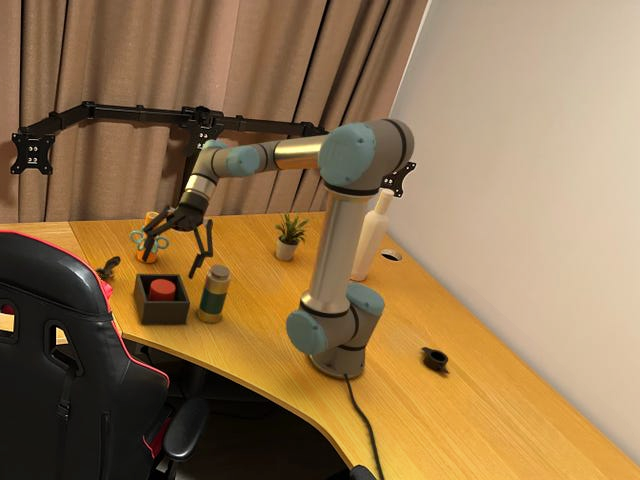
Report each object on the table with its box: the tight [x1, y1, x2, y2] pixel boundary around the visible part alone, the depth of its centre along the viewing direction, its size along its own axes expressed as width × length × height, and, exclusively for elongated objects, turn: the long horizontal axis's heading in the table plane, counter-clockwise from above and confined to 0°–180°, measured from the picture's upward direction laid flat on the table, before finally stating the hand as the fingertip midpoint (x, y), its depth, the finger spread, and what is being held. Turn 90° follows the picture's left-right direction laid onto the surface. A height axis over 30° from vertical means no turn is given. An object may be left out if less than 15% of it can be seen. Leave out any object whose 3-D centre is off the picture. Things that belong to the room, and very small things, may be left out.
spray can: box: [197, 264, 232, 324], centre depth 175 cm, size 7×7×16 cm
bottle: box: [350, 188, 395, 282], centre depth 199 cm, size 8×8×30 cm
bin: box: [133, 273, 191, 325], centre depth 176 cm, size 14×13×7 cm
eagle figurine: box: [94, 255, 122, 282], centre depth 184 cm, size 8×7×9 cm
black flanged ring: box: [420, 346, 451, 375], centre depth 178 cm, size 8×10×3 cm
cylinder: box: [129, 211, 170, 264], centre depth 193 cm, size 12×10×15 cm
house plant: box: [272, 208, 315, 262], centre depth 205 cm, size 14×14×16 cm
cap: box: [148, 279, 175, 301], centre depth 176 cm, size 7×7×7 cm
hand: (166, 269), depth 169 cm, fingers open, 13 cm apart
